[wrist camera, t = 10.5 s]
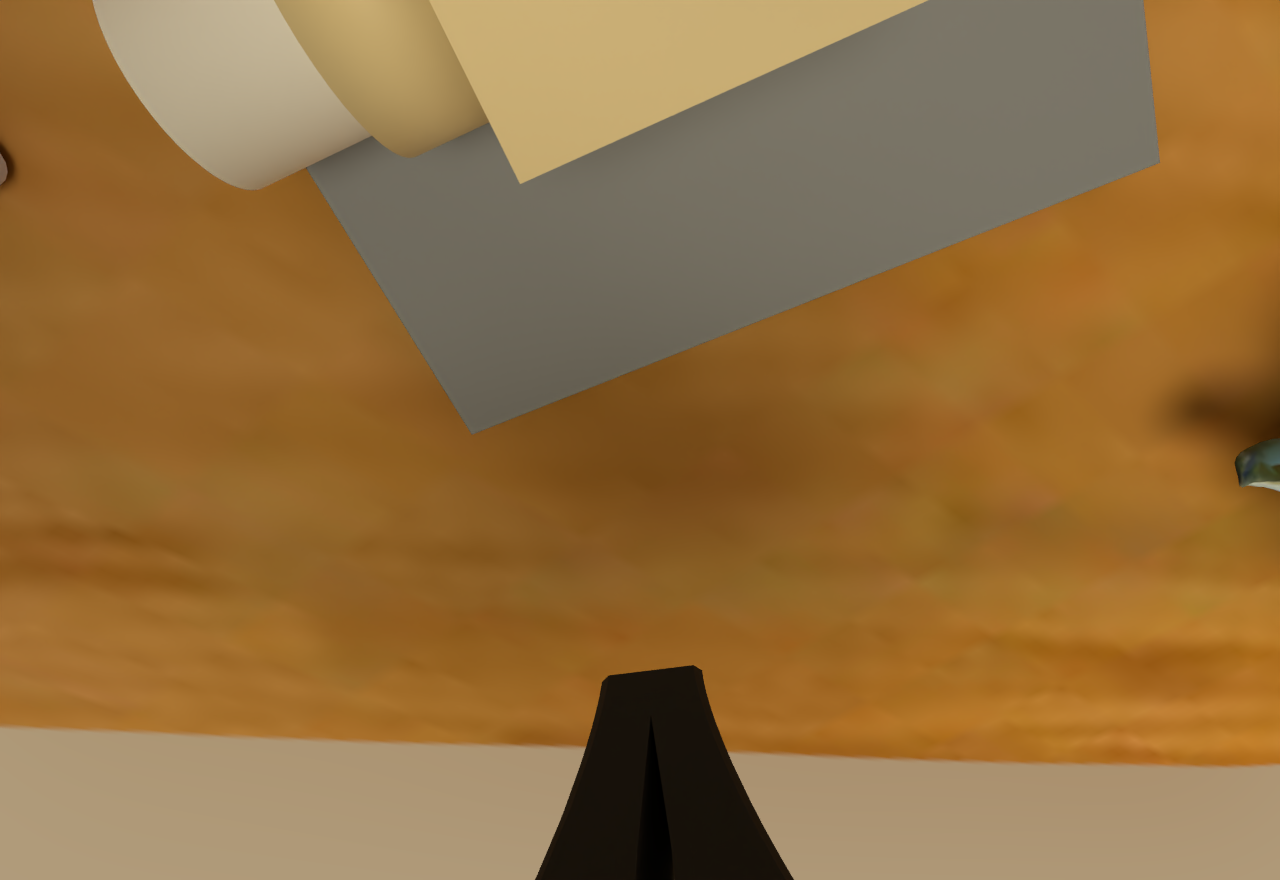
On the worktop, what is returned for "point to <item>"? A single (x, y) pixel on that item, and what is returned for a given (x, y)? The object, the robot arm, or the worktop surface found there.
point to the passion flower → (1260, 465)
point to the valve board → (640, 151)
